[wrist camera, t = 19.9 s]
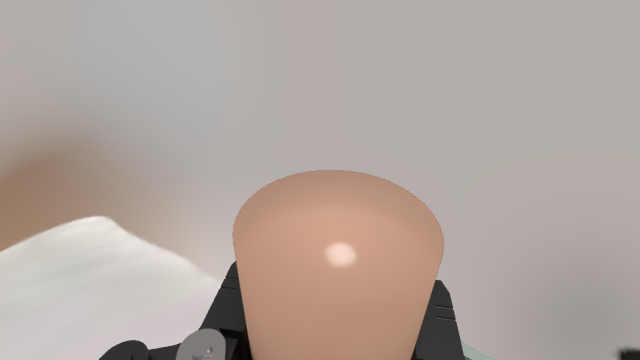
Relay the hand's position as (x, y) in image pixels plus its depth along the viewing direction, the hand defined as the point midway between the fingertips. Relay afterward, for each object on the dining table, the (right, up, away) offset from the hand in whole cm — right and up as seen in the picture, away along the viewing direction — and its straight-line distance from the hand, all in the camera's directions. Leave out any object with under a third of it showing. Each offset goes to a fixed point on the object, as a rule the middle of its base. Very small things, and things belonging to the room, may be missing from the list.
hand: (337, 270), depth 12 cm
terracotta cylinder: (0, -7, +1) cm, 7 cm away
